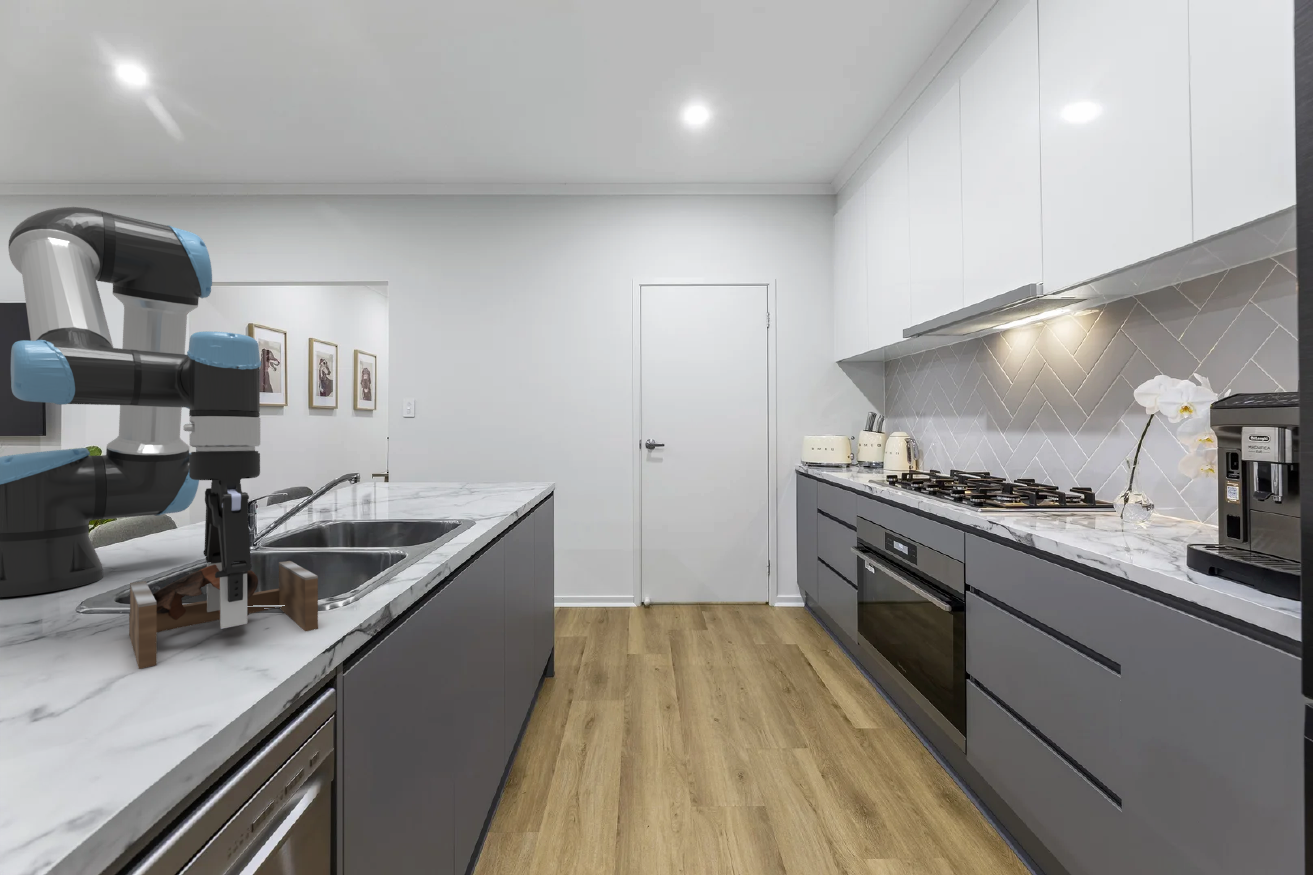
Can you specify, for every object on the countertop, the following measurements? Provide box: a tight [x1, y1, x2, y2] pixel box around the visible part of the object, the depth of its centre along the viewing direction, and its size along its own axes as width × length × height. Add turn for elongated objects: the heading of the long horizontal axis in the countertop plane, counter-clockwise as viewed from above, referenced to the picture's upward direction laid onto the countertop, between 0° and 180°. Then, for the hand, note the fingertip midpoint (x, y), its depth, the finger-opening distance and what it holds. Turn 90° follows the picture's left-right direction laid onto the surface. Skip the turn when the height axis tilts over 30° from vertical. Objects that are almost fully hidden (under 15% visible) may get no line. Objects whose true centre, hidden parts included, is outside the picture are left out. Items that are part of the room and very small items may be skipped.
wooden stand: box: [128, 560, 319, 670], centre depth 75 cm, size 16×18×7 cm
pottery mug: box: [152, 565, 259, 620], centre depth 75 cm, size 12×9×8 cm
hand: (226, 616), depth 75 cm, fingers closed on pottery mug, 9 cm apart
